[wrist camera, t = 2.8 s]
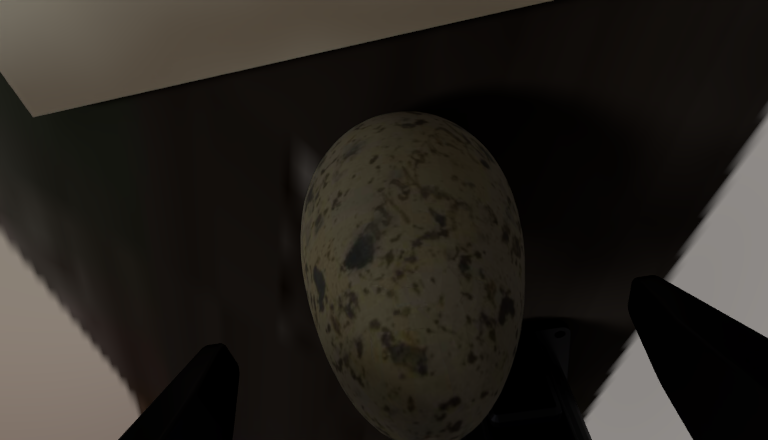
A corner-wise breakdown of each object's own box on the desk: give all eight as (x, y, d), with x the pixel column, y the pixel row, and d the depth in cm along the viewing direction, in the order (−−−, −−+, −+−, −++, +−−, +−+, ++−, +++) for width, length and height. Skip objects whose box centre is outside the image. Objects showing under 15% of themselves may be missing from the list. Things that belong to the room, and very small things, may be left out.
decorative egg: (508, 97, 14) (694, 345, 6) (455, 237, 17) (529, 519, 9) (328, 61, 13) (258, 292, 5) (309, 216, 17) (249, 502, 8)
